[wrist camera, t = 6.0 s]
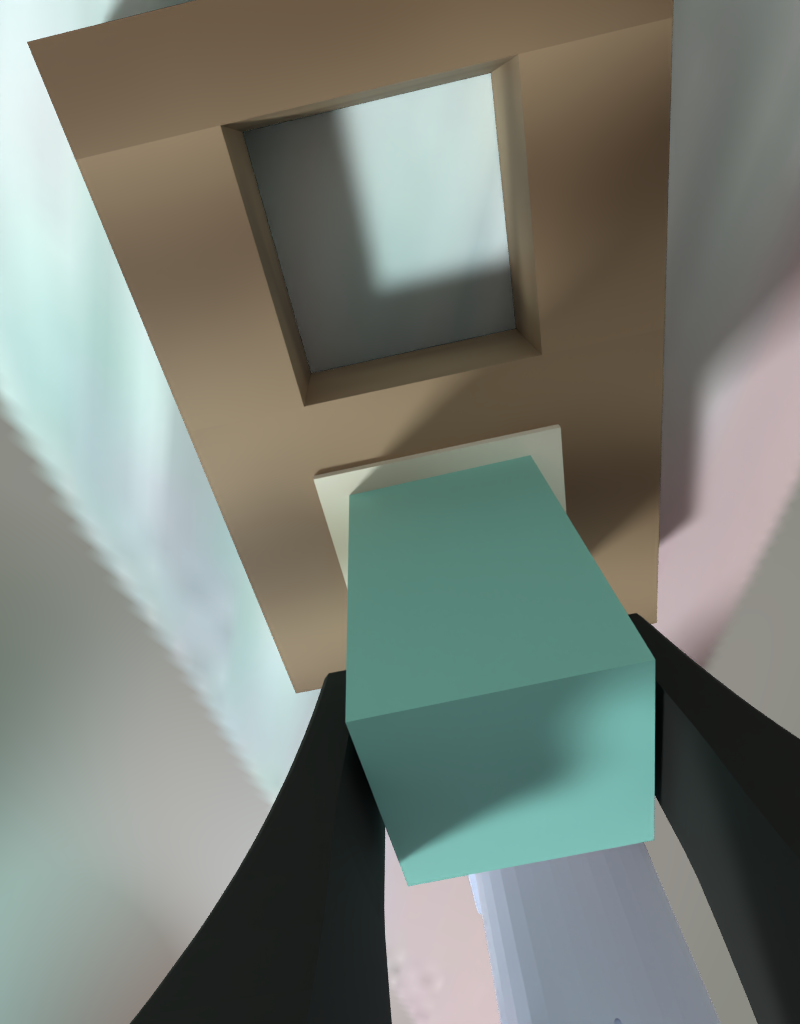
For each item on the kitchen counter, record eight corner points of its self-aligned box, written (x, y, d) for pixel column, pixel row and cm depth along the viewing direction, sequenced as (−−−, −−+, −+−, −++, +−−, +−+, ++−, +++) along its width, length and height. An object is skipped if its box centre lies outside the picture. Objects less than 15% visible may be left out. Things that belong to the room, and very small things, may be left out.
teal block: (545, 597, 17) (654, 840, 11) (389, 629, 17) (408, 885, 11) (529, 454, 14) (655, 659, 8) (349, 493, 15) (345, 722, 9)
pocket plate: (623, 573, 20) (659, 627, 18) (302, 637, 20) (295, 698, 18) (617, -68, 12) (682, -125, 9) (84, 63, 12) (21, 40, 10)
